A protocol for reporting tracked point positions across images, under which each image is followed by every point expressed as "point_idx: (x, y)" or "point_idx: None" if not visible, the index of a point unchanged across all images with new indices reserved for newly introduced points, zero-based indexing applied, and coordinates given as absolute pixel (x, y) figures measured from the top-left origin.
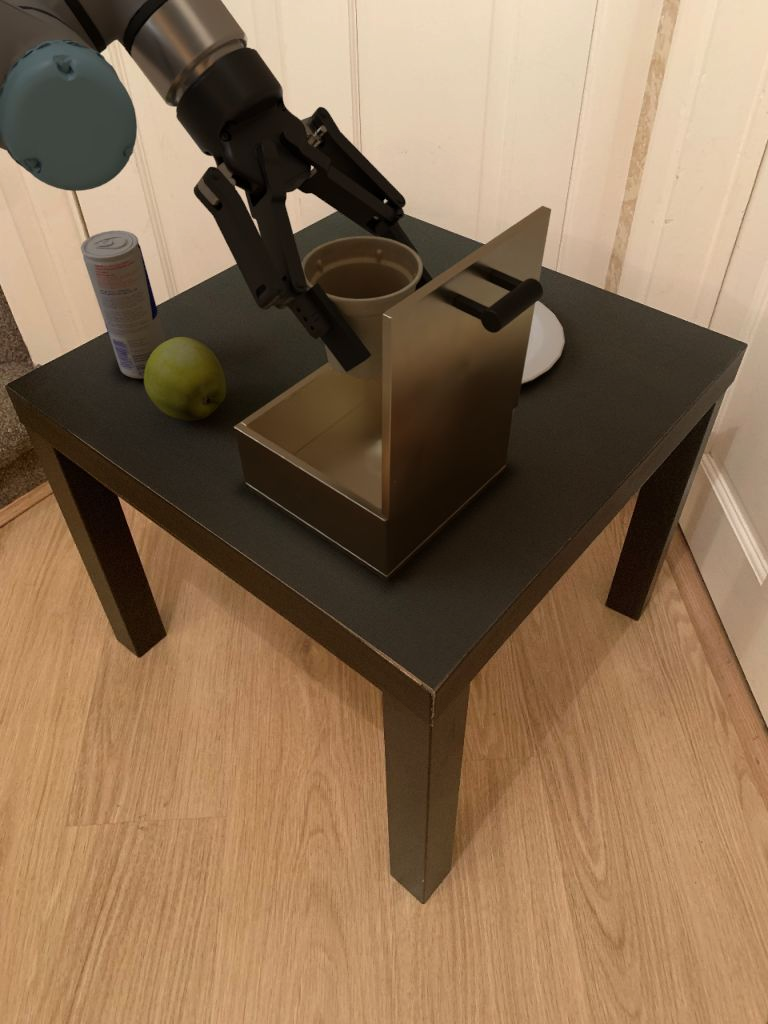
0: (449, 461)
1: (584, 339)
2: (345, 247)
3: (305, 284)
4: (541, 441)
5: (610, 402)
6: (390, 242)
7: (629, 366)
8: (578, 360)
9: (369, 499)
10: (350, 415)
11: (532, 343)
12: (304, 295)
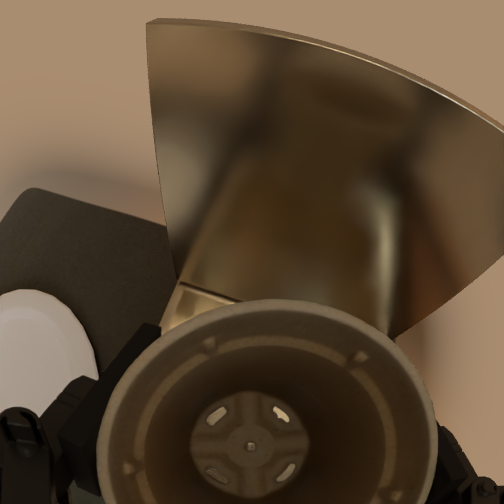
0: None
1: (10, 280)
2: None
3: (473, 487)
4: (139, 291)
5: (81, 248)
6: (111, 439)
7: (39, 242)
8: (33, 280)
9: (282, 412)
10: None
11: (19, 319)
12: (466, 482)
